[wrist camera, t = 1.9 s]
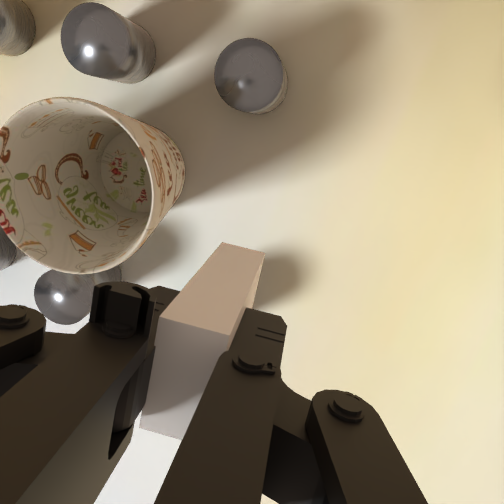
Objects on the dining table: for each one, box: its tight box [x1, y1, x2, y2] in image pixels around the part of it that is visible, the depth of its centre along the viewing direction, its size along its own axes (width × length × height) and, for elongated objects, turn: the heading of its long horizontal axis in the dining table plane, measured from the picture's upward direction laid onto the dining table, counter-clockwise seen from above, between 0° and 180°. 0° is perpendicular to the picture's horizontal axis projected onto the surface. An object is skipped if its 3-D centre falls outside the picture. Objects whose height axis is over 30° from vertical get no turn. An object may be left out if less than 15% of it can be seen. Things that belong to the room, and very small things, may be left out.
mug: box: [0, 97, 185, 274], centre depth 27 cm, size 8×13×10 cm, turn 90°
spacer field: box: [0, 0, 288, 325], centre depth 30 cm, size 20×19×5 cm
